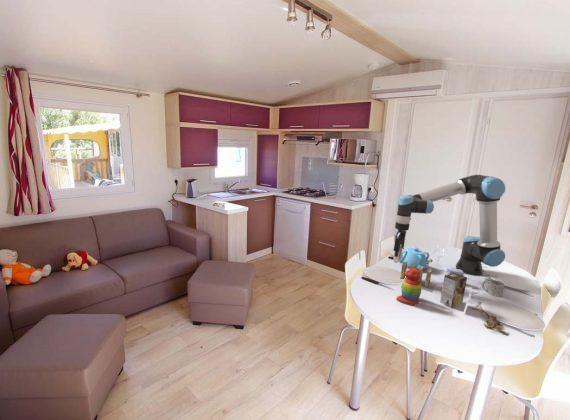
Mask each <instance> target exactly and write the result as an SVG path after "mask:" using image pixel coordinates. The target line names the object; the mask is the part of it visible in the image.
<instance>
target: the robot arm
mask: <svg viewBox="0 0 570 420" xmlns="http://www.w3.org/2000/svg"><path fill="white" fill-rule="evenodd" d="M505 192H506V184H505V182H504V181H503V180H502V179H501V178H498V177H496V176H488V175H482V174H473V175H469V176H465V177H462V178H459V179H456V180H455V182H451V183H448V184H445V185H442V186H439V187H435V188H432V189H430V190H426V191H424V192H420V193H417V194H413V195H411V194H407V195H406V194H405V195H400V196H399V199H398V203H397V204H398V205H397V212H396V218H395V226H394V228H395V229H396V230H397V232H396V234H395V237H394V239H395V240H394V244H393V249H392V250H393V251H394V253H393V260H392V261H393V262H394V261H395V262H394V263H396V262H397V263H399V261H398V260H399V253H400V251H399V250H400V245H402V248H401V254H400V260H401V256H402V251H403V249H404V250H405V242H406V234H407V231H409V229H410V222H411V220H412V218H411V217H412V214H423V215H424V214H425V215H426V214H428V215H429V214H432V212H434V208H435V206H434V202H437V201H441V200H443V199H447V198H450V197H454V196H457V195H465V194H474V195H475V200H476V202H478V207H479V208H478V209H479V213H478V214H479V236H473V235H471V236H470V235H469V236H465V237H464V238H463V242H462V249H461V253H460V258H459V259H458V260H457V262H456V264H455V269H460V270H462V271H463V272H464V274H465V275H467V274H468V275H473V276H480V275H482V274H483V271H484V270H483V266H482V264H484V265H486V266H489V267H491V268H494V267H495V268H496V267H498V266H500V265H501V264H502V263H503V262H504V261H505V259H506V253H505V251H503V250H502V249H501V242H500V241H498V202H500V201H501V198H502V197H503V196H504V194H505Z"/></svg>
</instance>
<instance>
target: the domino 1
mask: <svg viewBox="0 0 570 420" xmlns="http://www.w3.org/2000/svg"><path fill="white" fill-rule="evenodd" d="M401 248H402V245H400V250H399V251H400V253H399V260H400V254H401ZM399 260H398V262H399ZM393 262H394V263H395V264H396V263H397V264H398V262H395V261H393Z"/></svg>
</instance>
